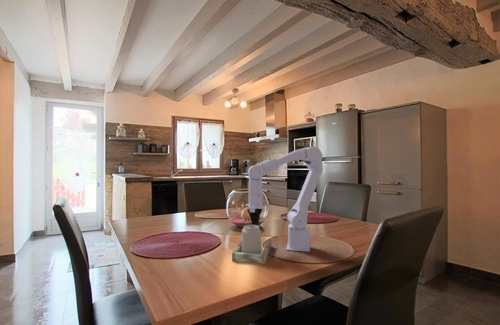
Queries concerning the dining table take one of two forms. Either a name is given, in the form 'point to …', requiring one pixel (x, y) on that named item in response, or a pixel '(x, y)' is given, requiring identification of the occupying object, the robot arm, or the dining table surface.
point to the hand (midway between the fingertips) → (255, 226)
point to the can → (251, 239)
